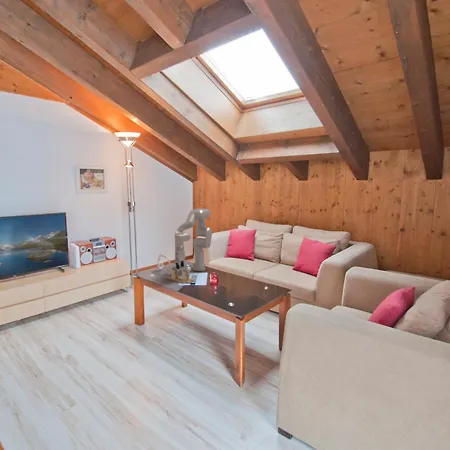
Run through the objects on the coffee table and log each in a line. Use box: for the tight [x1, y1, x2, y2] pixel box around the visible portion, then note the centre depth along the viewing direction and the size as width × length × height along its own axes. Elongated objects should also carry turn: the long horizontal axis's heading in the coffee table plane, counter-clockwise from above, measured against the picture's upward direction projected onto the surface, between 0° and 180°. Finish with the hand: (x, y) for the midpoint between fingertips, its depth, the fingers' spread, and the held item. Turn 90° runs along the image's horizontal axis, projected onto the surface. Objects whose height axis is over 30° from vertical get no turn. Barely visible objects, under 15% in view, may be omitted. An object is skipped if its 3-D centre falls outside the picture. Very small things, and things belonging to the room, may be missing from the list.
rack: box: [165, 268, 196, 285], centre depth 290 cm, size 10×24×12 cm, turn 65°
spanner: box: [168, 264, 192, 273], centre depth 289 cm, size 22×6×3 cm, turn 66°
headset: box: [156, 253, 172, 276], centre depth 311 cm, size 20×7×18 cm, turn 42°
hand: (180, 267), depth 289 cm, fingers open, 6 cm apart
